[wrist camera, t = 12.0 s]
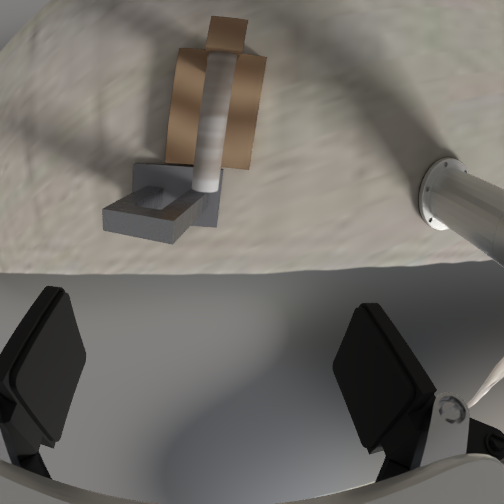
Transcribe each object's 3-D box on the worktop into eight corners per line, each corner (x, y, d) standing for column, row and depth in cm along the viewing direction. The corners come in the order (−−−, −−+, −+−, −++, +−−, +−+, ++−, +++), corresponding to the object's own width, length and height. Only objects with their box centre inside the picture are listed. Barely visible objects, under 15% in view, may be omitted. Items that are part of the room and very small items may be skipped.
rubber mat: (223, 168, 35) (223, 169, 34) (216, 225, 38) (216, 227, 37) (134, 163, 33) (133, 164, 32) (133, 219, 36) (132, 221, 35)
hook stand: (180, 49, 27) (156, 4, 13) (265, 58, 29) (305, 21, 15) (166, 160, 33) (133, 198, 19) (247, 168, 35) (274, 209, 21)
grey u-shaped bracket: (209, 190, 34) (173, 221, 24) (207, 208, 35) (172, 244, 25) (152, 182, 35) (102, 208, 25) (151, 199, 36) (103, 230, 26)
